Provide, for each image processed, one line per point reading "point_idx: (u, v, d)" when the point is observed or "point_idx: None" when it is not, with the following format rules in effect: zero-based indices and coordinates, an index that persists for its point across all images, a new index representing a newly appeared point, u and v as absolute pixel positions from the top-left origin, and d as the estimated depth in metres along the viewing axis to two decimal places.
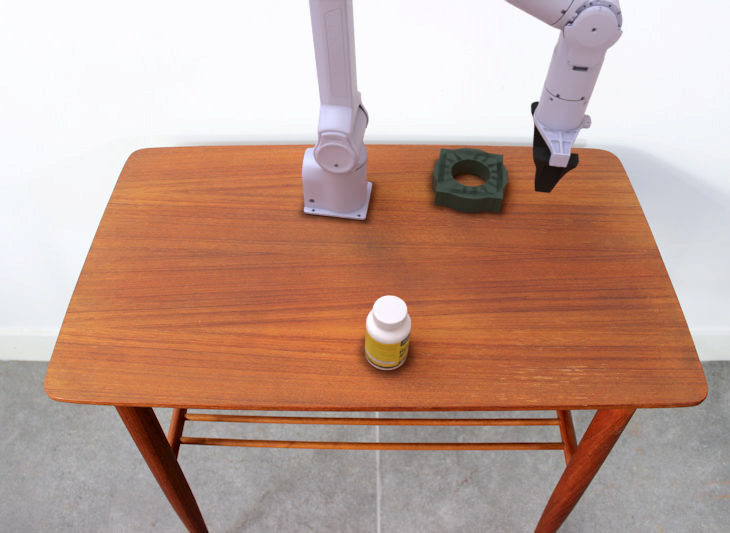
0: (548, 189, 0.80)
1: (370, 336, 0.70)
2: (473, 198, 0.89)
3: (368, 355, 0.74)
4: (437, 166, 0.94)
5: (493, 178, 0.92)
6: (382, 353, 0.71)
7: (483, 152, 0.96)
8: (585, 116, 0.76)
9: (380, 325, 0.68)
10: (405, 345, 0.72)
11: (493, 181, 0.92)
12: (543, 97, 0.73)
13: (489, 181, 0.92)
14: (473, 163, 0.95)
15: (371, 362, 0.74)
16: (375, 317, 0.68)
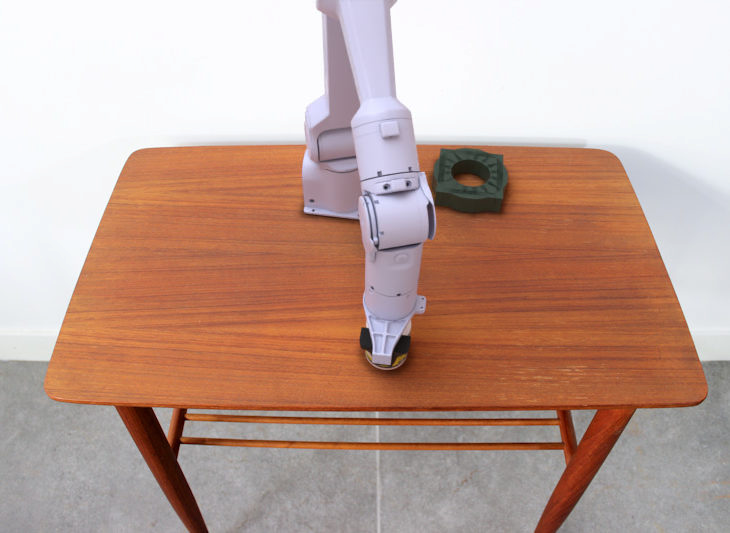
0: None
1: None
2: (473, 198, 0.89)
3: (368, 355, 0.74)
4: (437, 166, 0.94)
5: (493, 178, 0.92)
6: None
7: (483, 152, 0.96)
8: (420, 298, 0.67)
9: None
10: None
11: (493, 181, 0.92)
12: (365, 285, 0.64)
13: (489, 181, 0.92)
14: (473, 163, 0.95)
15: (371, 362, 0.74)
16: None
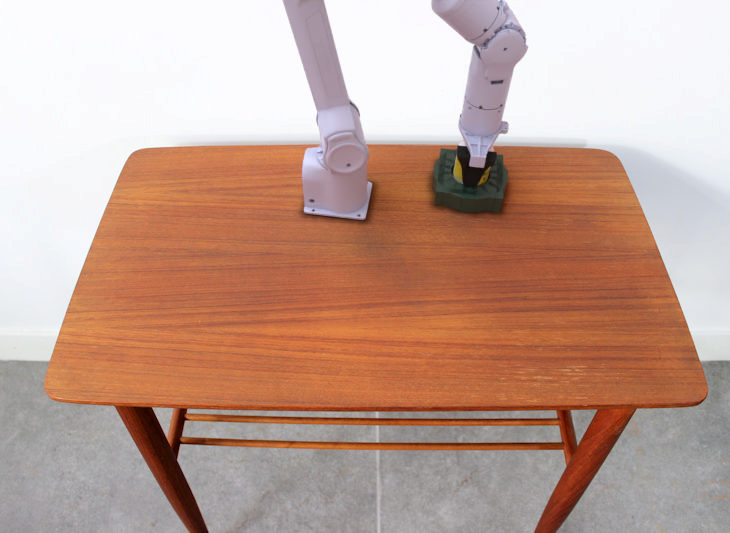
0: (474, 183, 0.90)
1: None
2: (473, 198, 0.89)
3: None
4: (437, 166, 0.94)
5: (493, 178, 0.92)
6: None
7: None
8: (503, 123, 0.86)
9: None
10: (488, 169, 0.90)
11: (493, 181, 0.92)
12: (464, 106, 0.83)
13: (489, 181, 0.92)
14: None
15: None
16: None
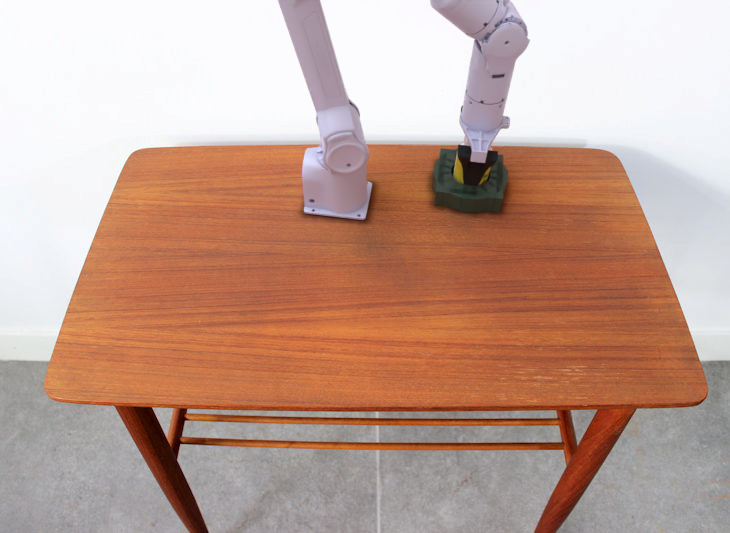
0: (475, 183, 0.89)
1: None
2: (473, 198, 0.89)
3: None
4: (437, 166, 0.94)
5: (493, 178, 0.92)
6: None
7: None
8: (505, 117, 0.85)
9: None
10: (487, 171, 0.91)
11: (493, 181, 0.92)
12: (465, 100, 0.82)
13: (489, 181, 0.92)
14: None
15: None
16: (467, 143, 0.87)
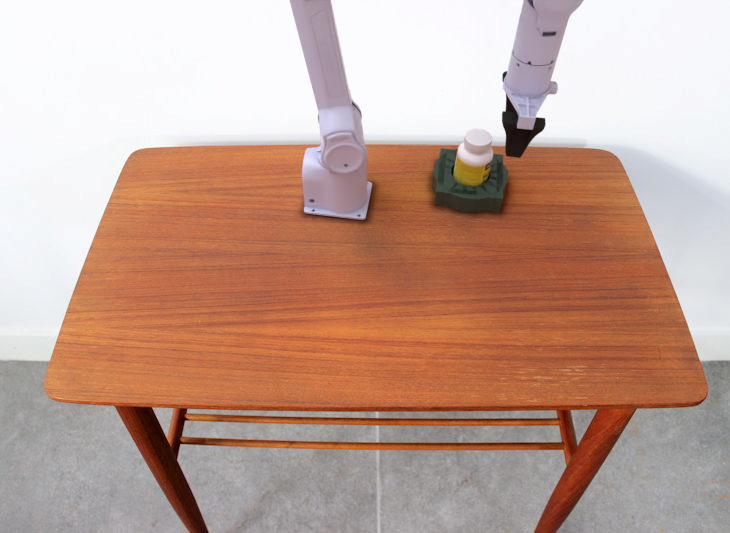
0: (518, 154, 0.83)
1: (461, 161, 0.89)
2: (473, 198, 0.89)
3: None
4: (437, 166, 0.94)
5: (493, 178, 0.92)
6: (469, 177, 0.90)
7: None
8: (552, 83, 0.79)
9: (471, 148, 0.87)
10: (487, 171, 0.91)
11: (493, 181, 0.92)
12: (511, 63, 0.76)
13: (489, 181, 0.92)
14: None
15: None
16: (467, 142, 0.87)
